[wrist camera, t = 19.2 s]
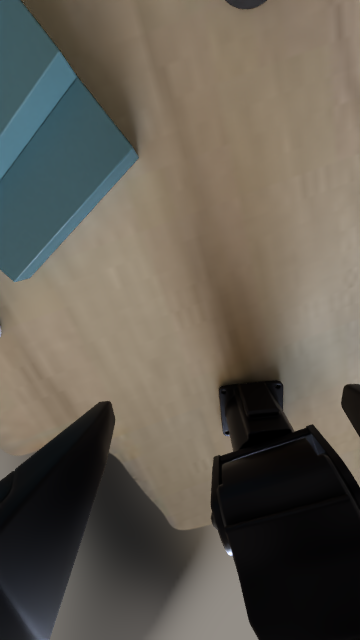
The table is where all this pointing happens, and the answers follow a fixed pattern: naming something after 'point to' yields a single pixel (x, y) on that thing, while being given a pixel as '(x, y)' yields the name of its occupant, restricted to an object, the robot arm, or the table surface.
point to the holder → (245, 3)
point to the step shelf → (47, 145)
